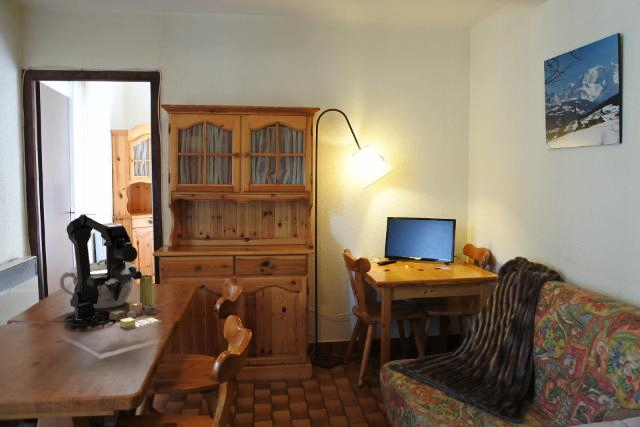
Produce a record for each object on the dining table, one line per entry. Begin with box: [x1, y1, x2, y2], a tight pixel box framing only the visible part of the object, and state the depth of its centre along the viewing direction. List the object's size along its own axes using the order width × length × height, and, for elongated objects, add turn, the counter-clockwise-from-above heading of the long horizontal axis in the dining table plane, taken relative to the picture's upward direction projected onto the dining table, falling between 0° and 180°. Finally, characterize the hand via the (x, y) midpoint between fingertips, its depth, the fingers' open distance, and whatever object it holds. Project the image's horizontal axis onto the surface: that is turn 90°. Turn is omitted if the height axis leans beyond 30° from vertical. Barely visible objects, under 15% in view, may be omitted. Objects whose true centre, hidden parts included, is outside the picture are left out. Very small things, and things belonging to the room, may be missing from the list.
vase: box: [139, 274, 155, 308], centre depth 216 cm, size 6×6×14 cm
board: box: [118, 317, 161, 331], centre depth 192 cm, size 14×7×1 cm, turn 139°
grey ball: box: [126, 311, 137, 319], centre depth 200 cm, size 4×4×4 cm
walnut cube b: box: [143, 304, 157, 316], centre depth 206 cm, size 4×4×4 cm
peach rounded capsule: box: [128, 301, 143, 316], centre depth 205 cm, size 5×5×5 cm
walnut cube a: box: [108, 309, 126, 322], centre depth 197 cm, size 4×4×4 cm
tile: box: [119, 317, 136, 330], centre depth 188 cm, size 4×4×2 cm
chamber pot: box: [59, 258, 138, 310], centre depth 220 cm, size 28×28×21 cm
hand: (115, 300), depth 184 cm, fingers closed
